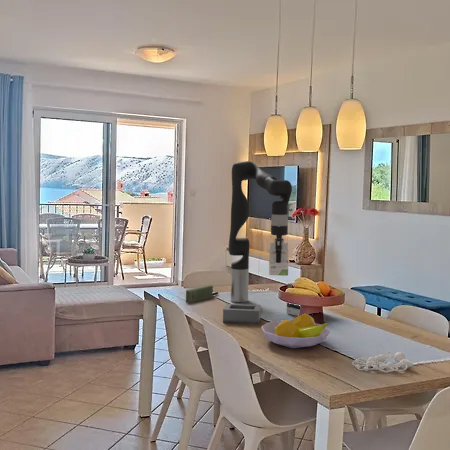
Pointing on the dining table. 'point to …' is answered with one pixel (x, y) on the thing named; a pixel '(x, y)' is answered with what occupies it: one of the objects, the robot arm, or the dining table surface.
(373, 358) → the tangled rod sculpture
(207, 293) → the handheld radio
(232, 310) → the desk holder
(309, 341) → the fruit bowl
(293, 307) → the tea box
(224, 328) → the dining table surface
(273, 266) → the ink box
